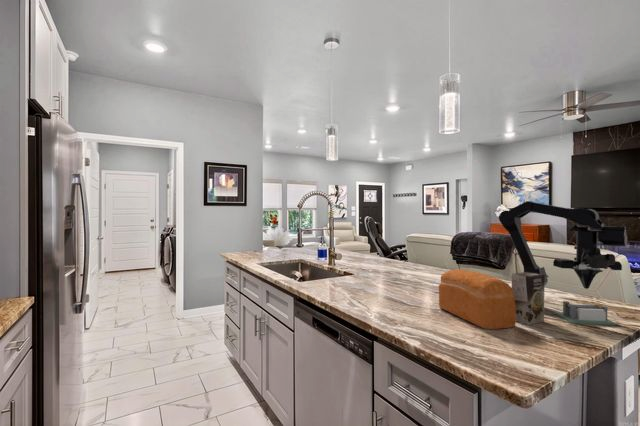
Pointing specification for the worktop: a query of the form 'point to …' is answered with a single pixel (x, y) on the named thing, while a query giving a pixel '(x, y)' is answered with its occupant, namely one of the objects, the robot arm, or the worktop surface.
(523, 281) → the coffee box
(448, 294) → the bread
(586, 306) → the grey and brown bar
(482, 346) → the worktop surface
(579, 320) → the heatsink board
